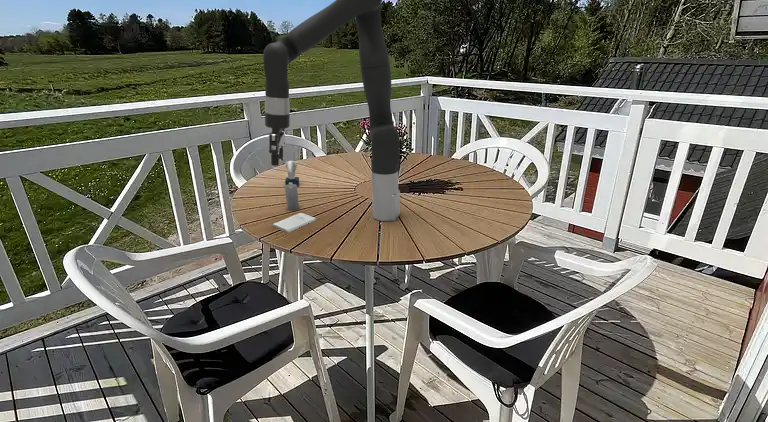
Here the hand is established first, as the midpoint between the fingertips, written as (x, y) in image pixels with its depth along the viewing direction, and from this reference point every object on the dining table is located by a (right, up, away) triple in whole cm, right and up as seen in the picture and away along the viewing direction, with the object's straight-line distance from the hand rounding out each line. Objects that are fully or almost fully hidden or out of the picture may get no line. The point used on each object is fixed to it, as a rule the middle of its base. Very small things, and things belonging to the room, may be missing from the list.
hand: (277, 161), depth 129 cm
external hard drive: (+4, -21, +9) cm, 23 cm away
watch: (-5, -5, +44) cm, 45 cm away
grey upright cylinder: (0, -15, +21) cm, 26 cm away
